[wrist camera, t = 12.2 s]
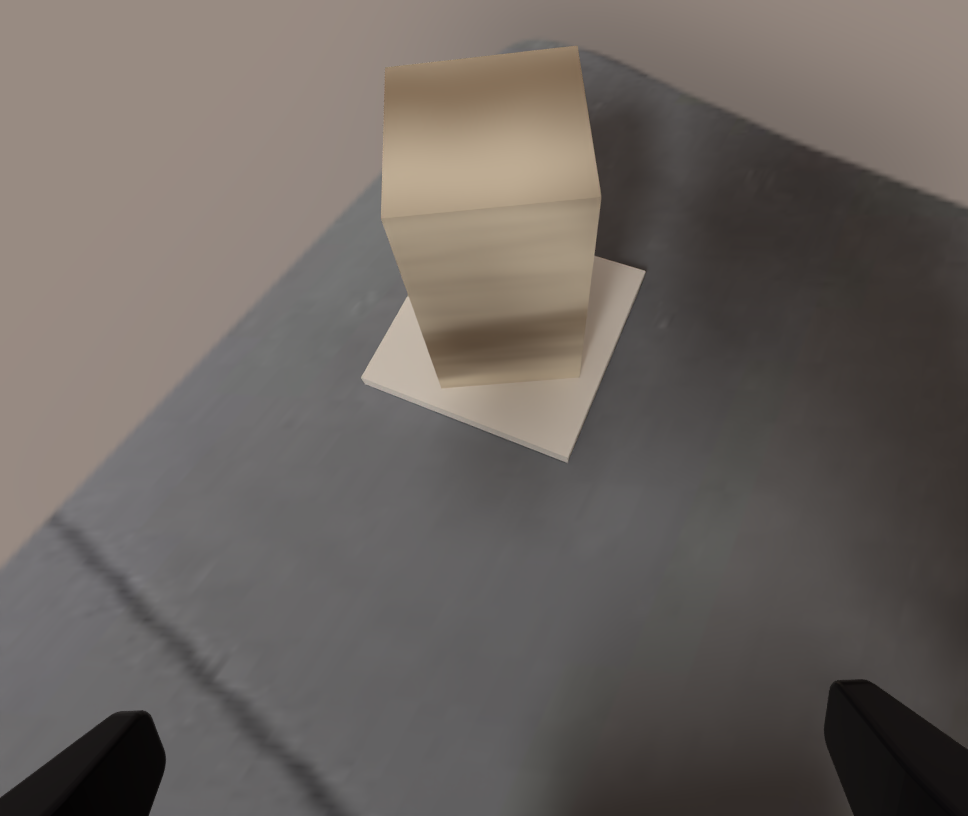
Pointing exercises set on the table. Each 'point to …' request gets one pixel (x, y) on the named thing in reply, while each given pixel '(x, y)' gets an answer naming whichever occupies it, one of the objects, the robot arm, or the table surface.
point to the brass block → (493, 211)
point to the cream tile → (521, 405)
